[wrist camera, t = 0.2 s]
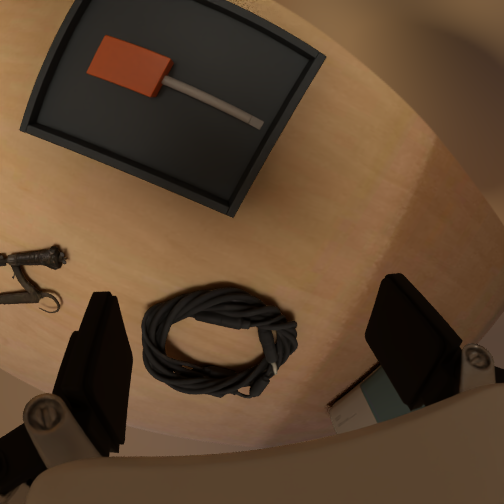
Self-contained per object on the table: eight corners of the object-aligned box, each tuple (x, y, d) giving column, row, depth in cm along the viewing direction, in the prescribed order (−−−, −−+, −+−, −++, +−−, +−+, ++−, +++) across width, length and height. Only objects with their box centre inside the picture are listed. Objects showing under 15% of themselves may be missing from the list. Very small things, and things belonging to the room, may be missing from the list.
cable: (120, 338, 32) (114, 368, 28) (190, 246, 28) (190, 272, 24) (239, 390, 39) (244, 417, 35) (316, 324, 35) (329, 350, 31)
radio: (423, 314, 39) (503, 420, 21) (442, 331, 42) (511, 422, 25) (322, 405, 45) (364, 514, 27) (351, 412, 48) (393, 506, 31)
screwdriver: (98, 75, 19) (85, 73, 16) (115, 40, 18) (105, 34, 15) (248, 140, 24) (255, 146, 21) (267, 107, 23) (276, 109, 20)
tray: (30, 126, 20) (19, 130, 18) (107, -32, 15) (101, -41, 13) (230, 209, 27) (233, 218, 25) (317, 58, 22) (327, 56, 20)
